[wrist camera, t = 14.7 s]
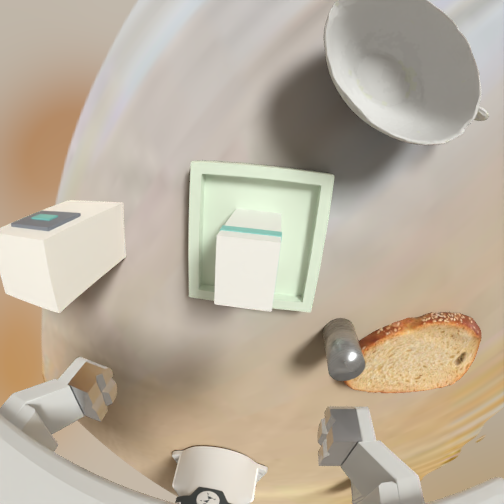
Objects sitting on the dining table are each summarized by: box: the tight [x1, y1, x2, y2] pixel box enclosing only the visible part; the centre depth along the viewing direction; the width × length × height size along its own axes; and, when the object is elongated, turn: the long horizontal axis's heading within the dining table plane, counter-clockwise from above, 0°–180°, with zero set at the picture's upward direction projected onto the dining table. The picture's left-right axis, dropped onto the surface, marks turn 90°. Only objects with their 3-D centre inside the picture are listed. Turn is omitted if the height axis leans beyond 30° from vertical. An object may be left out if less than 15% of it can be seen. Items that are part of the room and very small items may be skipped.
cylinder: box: [323, 318, 365, 381], centre depth 27 cm, size 4×4×6 cm
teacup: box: [324, 0, 489, 145], centre depth 16 cm, size 15×12×8 cm
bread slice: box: [344, 312, 481, 393], centre depth 29 cm, size 18×18×4 cm
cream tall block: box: [0, 200, 126, 313], centre depth 23 cm, size 7×8×12 cm
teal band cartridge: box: [214, 208, 282, 312], centre depth 22 cm, size 5×4×8 cm
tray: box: [188, 160, 335, 312], centre depth 26 cm, size 13×12×2 cm
